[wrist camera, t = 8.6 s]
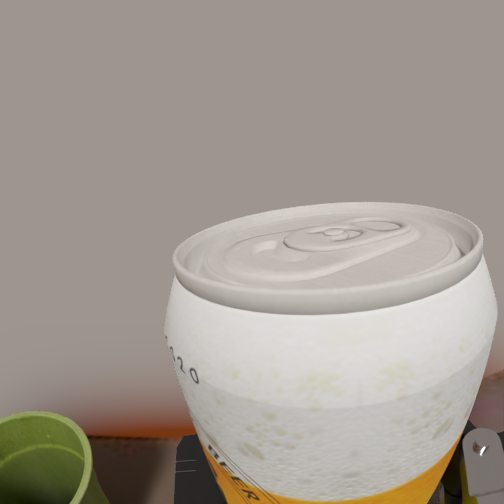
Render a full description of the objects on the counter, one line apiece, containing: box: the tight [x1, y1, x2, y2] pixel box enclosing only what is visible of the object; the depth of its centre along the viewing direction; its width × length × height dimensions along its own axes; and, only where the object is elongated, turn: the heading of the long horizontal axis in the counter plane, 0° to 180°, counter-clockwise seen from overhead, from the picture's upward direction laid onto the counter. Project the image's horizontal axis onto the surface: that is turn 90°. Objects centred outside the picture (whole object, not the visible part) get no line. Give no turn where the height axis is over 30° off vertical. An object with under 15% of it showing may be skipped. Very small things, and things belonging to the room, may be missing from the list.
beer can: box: [164, 202, 498, 504], centre depth 8 cm, size 6×6×15 cm
